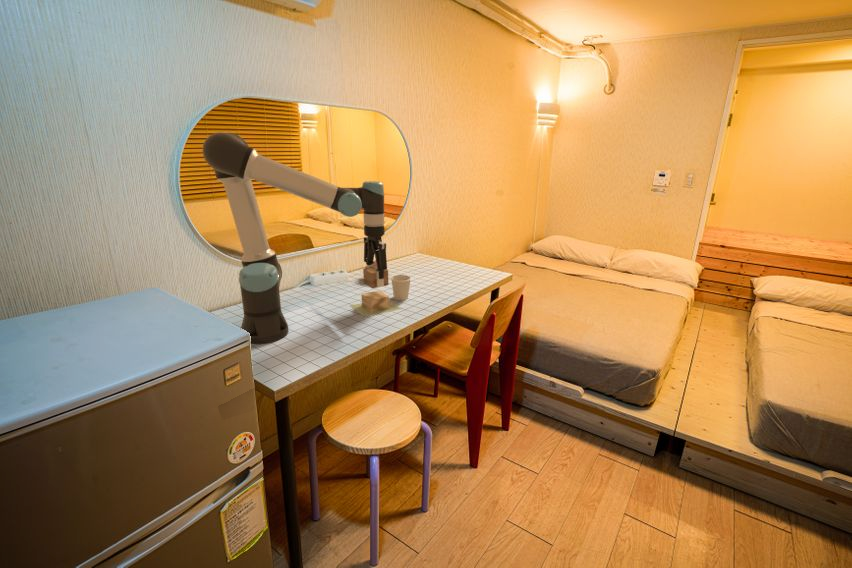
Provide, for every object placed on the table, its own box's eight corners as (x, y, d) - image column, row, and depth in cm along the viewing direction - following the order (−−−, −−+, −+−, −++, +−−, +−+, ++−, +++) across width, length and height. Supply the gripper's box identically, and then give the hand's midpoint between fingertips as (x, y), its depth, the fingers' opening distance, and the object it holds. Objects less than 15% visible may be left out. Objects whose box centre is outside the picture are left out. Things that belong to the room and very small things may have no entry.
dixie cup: (392, 304, 169) (392, 281, 165) (389, 297, 176) (389, 275, 173) (412, 303, 170) (412, 280, 167) (409, 296, 178) (409, 274, 175)
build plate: (364, 319, 153) (364, 316, 153) (349, 308, 163) (349, 305, 163) (401, 311, 162) (401, 308, 162) (385, 301, 172) (385, 298, 172)
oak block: (371, 312, 157) (370, 300, 155) (361, 305, 163) (361, 293, 162) (389, 308, 161) (389, 296, 160) (379, 302, 168) (379, 290, 166)
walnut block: (372, 288, 155) (371, 273, 153) (363, 283, 160) (363, 268, 158) (388, 285, 159) (388, 270, 157) (379, 280, 164) (379, 265, 162)
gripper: (396, 228, 146) (397, 289, 153) (371, 219, 162) (372, 275, 169) (377, 230, 142) (379, 292, 149) (353, 221, 158) (355, 278, 165)
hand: (375, 283), depth 159 cm, fingers closed on walnut block, 7 cm apart
